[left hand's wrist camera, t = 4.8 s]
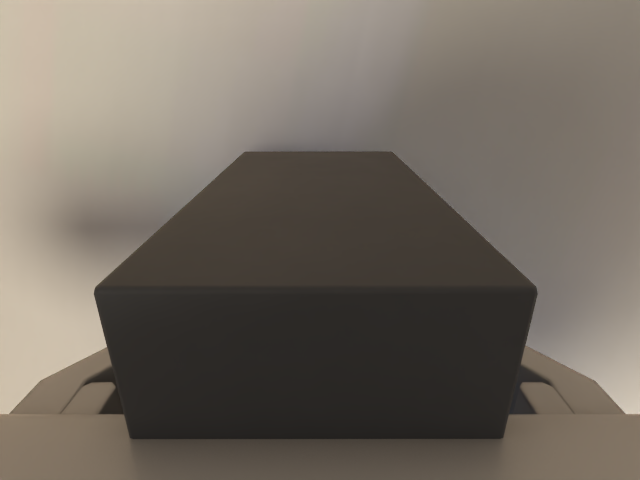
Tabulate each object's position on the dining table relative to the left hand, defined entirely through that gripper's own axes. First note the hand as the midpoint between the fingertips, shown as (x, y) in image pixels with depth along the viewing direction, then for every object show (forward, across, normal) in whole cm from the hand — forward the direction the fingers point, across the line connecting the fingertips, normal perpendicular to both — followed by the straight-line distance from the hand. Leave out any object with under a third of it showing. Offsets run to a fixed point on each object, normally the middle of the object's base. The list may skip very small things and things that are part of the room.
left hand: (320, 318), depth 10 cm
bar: (+3, 0, -10) cm, 10 cm away
